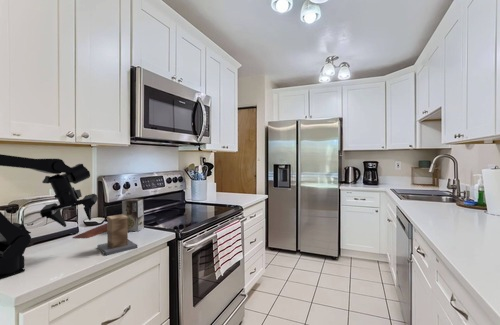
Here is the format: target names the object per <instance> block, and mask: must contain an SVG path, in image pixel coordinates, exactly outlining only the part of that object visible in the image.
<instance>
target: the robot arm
mask: <svg viewBox="0 0 500 325" xmlns="http://www.w3.org/2000/svg"><path fill="white" fill-rule="evenodd" d="M0 167H7V168H9V167H10V168H20V169H29V170H33V171H36V172H40V173H45V174H51V175H52V174H54V175H52V176H51V175H50V176H49V175H45V177H44V179H43V180H42V184H50V185H51V188H52V190H53V192H54V195H53V196H54V199H57V201H58V203H59V204H58V203H56V202H54V203H49V204H46V205H44V207H42V208H41V210H40V211H39V214H40V216H41V218H46V219H51V220H52V221H54V222H56V223H58V225H61V226H62V227H64V228H66V227H67V223H66V221H65V219H64V217H63V215H62V213H61V212H62V210H65V209H68V208H69V209H70V208H73V207H76V206H81V205H83V206H84V207H83V210H84V212H85V215H86V217H87V219H88V220H89V221H91V220H92V209H93V208H92V207H93V206H94V205H95V204H96V203H97V201H99V197H98V195H97V194H95V193H91V194H88V195H87V194H86V195H85V196H84V197H83V198H82V196H83V195H82V192H81V189H75V188H74V187H73V186H72V184H78V183H81V182H83V181H86V180H87V179H89V178H90V177H91V172H90V170H88V168H87V167H86V166H84V163H78V164H75V165H74V166H69V165H67V164H66V163H65V161H64V160H63V159H62V158H30V157H25V156H24V157H23V156H18V155H10V154H0ZM80 198H82V199H80ZM31 233H32V232H31V231H29V230H27V228H26V226H25V225H24V224H23V223H20V222H19V223H18V222H11V221H10V220H9V219H8V218H7V217H6V216H5V215H4V214H3V213H2V211H0V279H1V280H2V279H5V278H8V277H11V276H14V275H16V274H20V273H23V272H25V271H26V269H25V256H24V254H25V251H26V249H27V247H28V246H29V245H30V243H31V240H32V236H31Z"/></svg>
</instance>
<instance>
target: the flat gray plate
mask: <svg viewBox="0 0 500 325" xmlns="http://www.w3.org/2000/svg"><path fill="white" fill-rule="evenodd" d="M97 249H99V251H101V252H102V253H103V254H104V255H105V256H110V255H113V254H117V253H122V252H127V251H130V250H134V249H138V244H137V243H135V242H133V241H131V240H130V239H128V245H125V246H121V247H117V248H113V249H112V248H111V247H109V246H108V244H107V242H105V243H100V244H97Z"/></svg>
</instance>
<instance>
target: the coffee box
mask: <svg viewBox="0 0 500 325" xmlns="http://www.w3.org/2000/svg"><path fill="white" fill-rule="evenodd" d="M144 200H145V199H144V198H127V199H123V200H121V214H123V215H125V216H128V218H127V221H128V232H138V231H141V230H143V229H144V228H145V213H144V212H145V211H144V210H145V202H144Z"/></svg>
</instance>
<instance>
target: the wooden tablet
mask: <svg viewBox="0 0 500 325" xmlns="http://www.w3.org/2000/svg"><path fill="white" fill-rule="evenodd" d="M105 232H107V223H104V224H102V225H101V224H100V225H99V226H96V227H94V228H91V229H89V230H86V231H84V232H82V233H79V234H77V235H75V236H73V237H72V239H82V240H83V239H90V238H94V237H95V236H98V235H100V234H102V233H105Z"/></svg>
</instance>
